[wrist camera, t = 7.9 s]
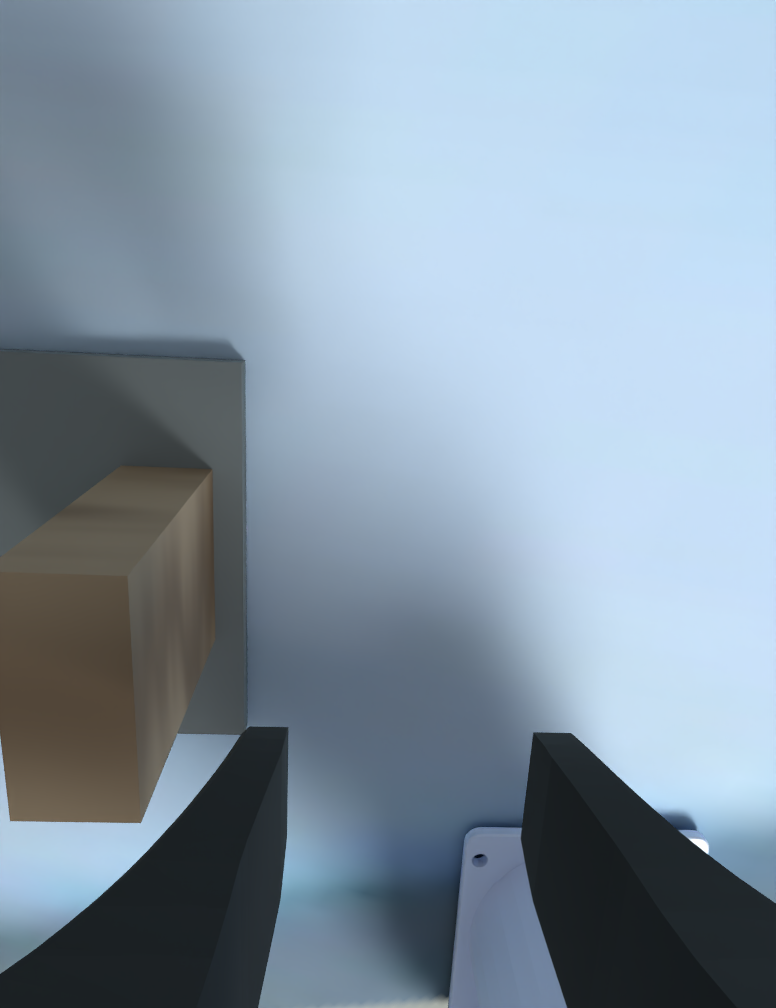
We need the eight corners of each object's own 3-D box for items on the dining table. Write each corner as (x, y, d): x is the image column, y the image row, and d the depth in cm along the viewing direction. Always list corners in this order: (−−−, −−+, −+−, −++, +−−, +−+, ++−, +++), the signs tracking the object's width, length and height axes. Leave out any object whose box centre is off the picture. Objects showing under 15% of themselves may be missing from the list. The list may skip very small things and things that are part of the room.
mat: (247, 723, 22) (244, 734, 22) (-124, 715, 22) (-137, 726, 21) (245, 360, 19) (241, 362, 19) (-188, 340, 19) (-204, 342, 18)
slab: (215, 638, 21) (140, 822, 14) (126, 636, 21) (4, 821, 14) (212, 469, 20) (127, 575, 12) (117, 465, 19) (-25, 571, 12)
